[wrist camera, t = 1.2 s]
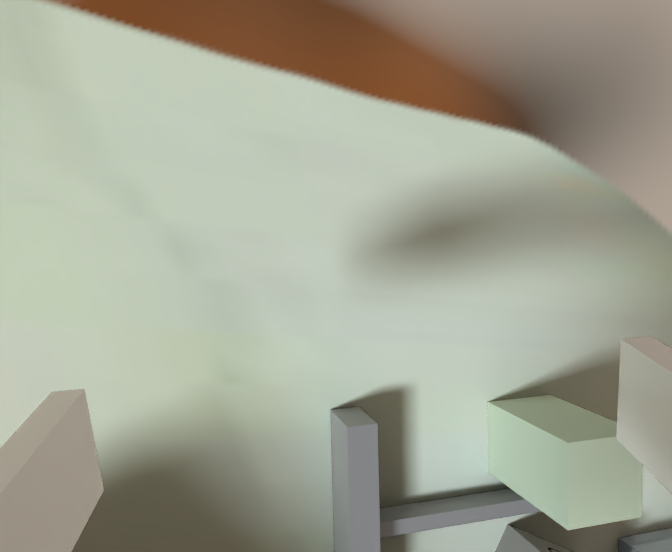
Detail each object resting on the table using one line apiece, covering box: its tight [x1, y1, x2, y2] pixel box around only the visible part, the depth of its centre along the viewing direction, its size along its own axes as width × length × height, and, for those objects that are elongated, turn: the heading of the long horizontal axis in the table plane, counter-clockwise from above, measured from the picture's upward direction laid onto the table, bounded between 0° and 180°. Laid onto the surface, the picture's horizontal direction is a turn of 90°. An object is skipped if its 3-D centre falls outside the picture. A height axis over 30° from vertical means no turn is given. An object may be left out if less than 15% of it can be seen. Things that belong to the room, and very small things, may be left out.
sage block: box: [488, 395, 642, 530], centre depth 31 cm, size 4×4×7 cm
